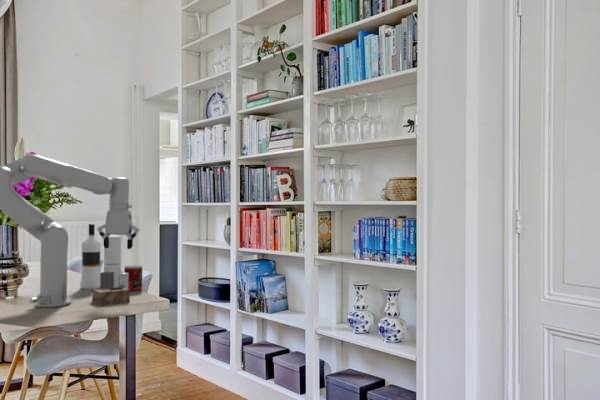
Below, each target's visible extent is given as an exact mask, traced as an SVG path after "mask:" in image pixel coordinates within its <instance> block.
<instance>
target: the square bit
mask: <svg viewBox="0 0 600 400" xmlns="http://www.w3.org/2000/svg"><path fill="white" fill-rule="evenodd" d="M113 286H114V272H104V271H103V272H100V288H99V289H101V288H111V287H113Z"/></svg>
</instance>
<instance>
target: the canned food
mask: <svg viewBox="0 0 600 400" xmlns="http://www.w3.org/2000/svg"><path fill="white" fill-rule="evenodd" d="M124 273H129V277H128V289H130V292H139V291H142V289H143V266H142V265H137V264H131V265H130V264H129V265H125V266H124Z"/></svg>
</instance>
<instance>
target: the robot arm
mask: <svg viewBox="0 0 600 400" xmlns="http://www.w3.org/2000/svg"><path fill="white" fill-rule="evenodd" d="M31 178H37V179H39V180H44V181H46V182H50V183H52V184H53V183H54V184H57V185H59V186H65V187H72V188H74V187H75V188H77V189H80V190H81V189H82V190H85V191H89V192H91V193H93V194H95V195H98V196H101V195H102V196H103V195H109V202H108V203H109V207H108V209H109V210H107V212H106V218H105V224H103V225H100V226H99V227H97V229H96V230H97V231H98V233H99V235H100V236H101V237H102V239H103V247H104V248H109V238H108V237H109V236H111V235H115V236H123V235H125V236H126V237H127V238H128V239H127V240H126V242H127V243H126V244H127V245H126V248H127V250H132V249H133V248H132V247H133V244H134V242H133V240H134V238H135V237H136V236H137V235H138V233H139V232H140V228H138V227H136V226H135V225H133V221H132V220H133V218H132V212H131V210H129V209H132V206H133V205H132V204H130V203H129V199H130V198H129V195H130V194H129V193H130V191H129V190H130V181H129V179H128V178H126V177H111V178H110V177H108V176H105V175H103V174H99V173H96V172H93V171H90V170H86V169H83V168H81V167H80V168H79V167H77V166H74V165H71V164H68V163H64V162H60V161H57V160H55V159H50V158H47V157H44V156H41V155H39V154H34V153H29V154H26V155H23V157H21V158H19V159H16V160H15V161H12V162H9V163H7V164H4V165H0V211H1V212H3V213H4V214H5V215H6V216H8V217H9V218H10V219H12V220H13V221H14V222H15V223H17V224H18V226H19V227H20V228H22V229H23V230H24V231H26V232H28V234H30V235H32V237H34V239H35V238H36V239H37V240H38V241H39V242H40V263H39V264H40V276H39V277H40V278H39V279H40V280H39V281H40V283H39V284H40V286H39V292H40V293H39V294H37V296H36V297H31V298H30V299H29V303H30V304H35V306H36V307H38V308H39V307H40V308H57V307H64V306H68V305H70V304H71V303H72V300H71V299H70V298H69V299H68V298H67V297H68V295H67V294H68V248H69V234H68V233H69V232H68V230H67V228H65V227H64V226H63V225H61V224H58V222H56V221H55V220H54V219H52V218H51V217H50V216H49V215H47V214H46V213H45V212H43V211H42V209H40V208H39V207H37V206H35V205H33V204H32V203H31V202H30V201H28V200H27V199H26V198H24V197H23V196H22V195H21V194H19V192H17V191H16V190H15V189H14V186H15V185H17V184H19V183H22V182H24V181H27V180H29V179H31ZM103 230H104V231H103ZM133 230H134V232H133ZM104 248H103V249H104Z"/></svg>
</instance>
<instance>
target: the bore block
mask: <svg viewBox="0 0 600 400" xmlns="http://www.w3.org/2000/svg"><path fill="white" fill-rule="evenodd" d="M91 291H92V292H91V293H92V296H91V297H92V301H91V302H93V303H94V304H96V305H99V306H102V305H103V306H104V305H106V306H107V305H115V304H120V303H121V304H123V303H130V298H131V297H130V295H131V294H130V293H131V291H130V289H127V288H124V287H111V288H101V289H100V288H98V289H91Z"/></svg>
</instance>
